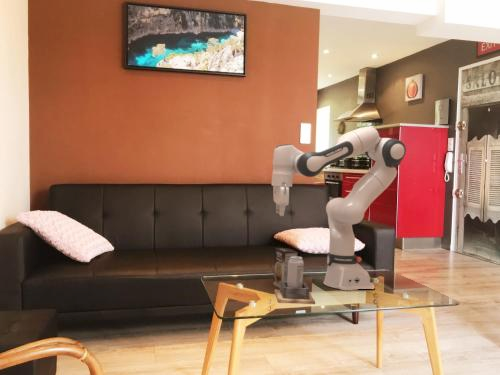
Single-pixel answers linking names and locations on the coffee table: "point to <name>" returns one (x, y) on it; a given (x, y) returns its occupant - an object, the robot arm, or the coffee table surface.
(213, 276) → the coffee table surface
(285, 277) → the coffee box
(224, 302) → the coffee table surface
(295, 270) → the energy drink can
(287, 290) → the can stand
